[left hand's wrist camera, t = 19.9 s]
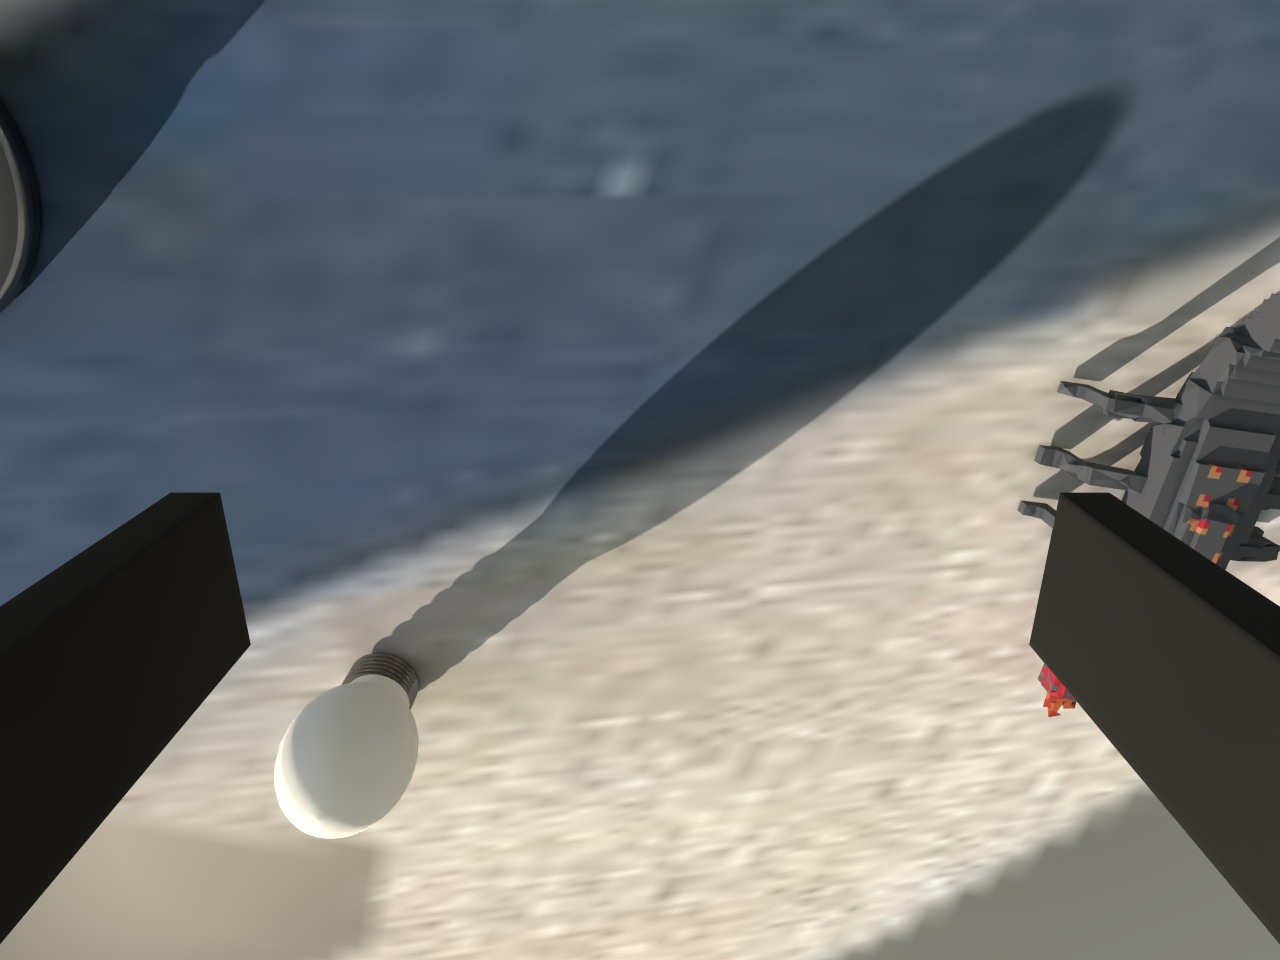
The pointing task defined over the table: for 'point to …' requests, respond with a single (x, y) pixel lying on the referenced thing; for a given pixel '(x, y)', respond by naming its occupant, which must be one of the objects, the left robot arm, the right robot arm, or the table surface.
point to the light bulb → (350, 750)
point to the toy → (1196, 454)
